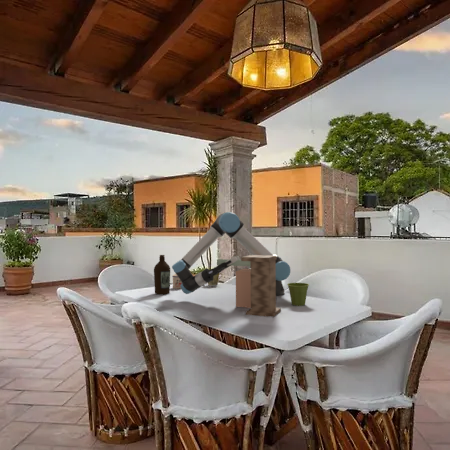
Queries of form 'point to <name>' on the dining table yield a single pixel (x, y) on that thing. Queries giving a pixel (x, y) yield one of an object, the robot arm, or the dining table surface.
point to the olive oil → (162, 277)
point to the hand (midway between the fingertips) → (237, 257)
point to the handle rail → (237, 263)
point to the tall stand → (262, 285)
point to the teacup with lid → (176, 282)
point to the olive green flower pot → (215, 280)
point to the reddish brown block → (243, 288)
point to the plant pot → (298, 293)
